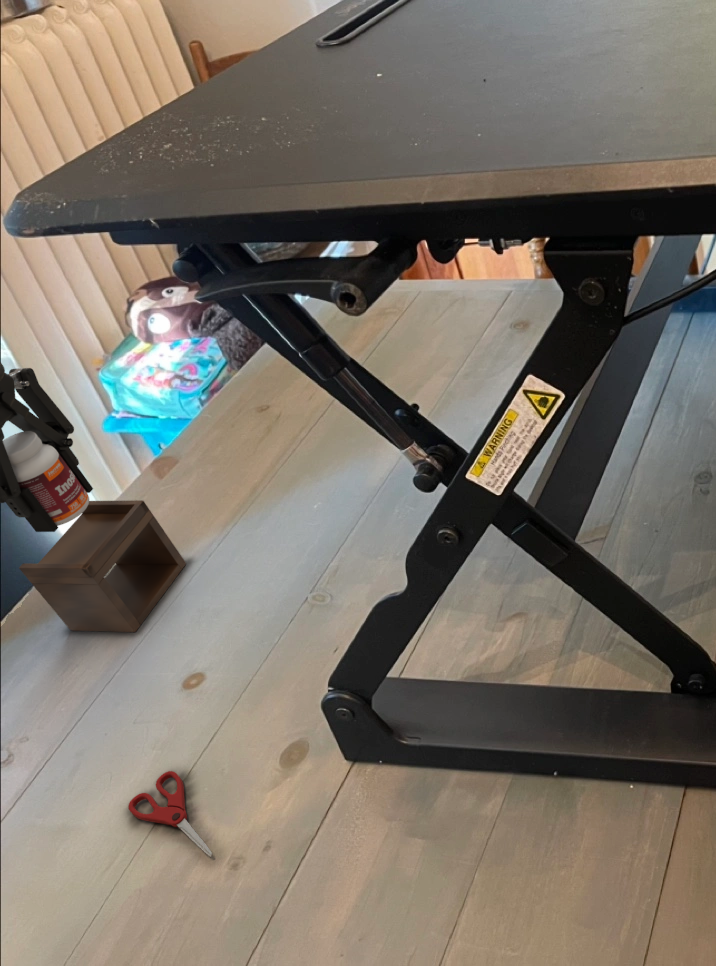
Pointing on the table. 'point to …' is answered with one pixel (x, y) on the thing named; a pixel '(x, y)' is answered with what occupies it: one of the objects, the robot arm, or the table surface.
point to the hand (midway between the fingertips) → (65, 509)
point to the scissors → (169, 809)
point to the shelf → (107, 568)
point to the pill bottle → (46, 476)
